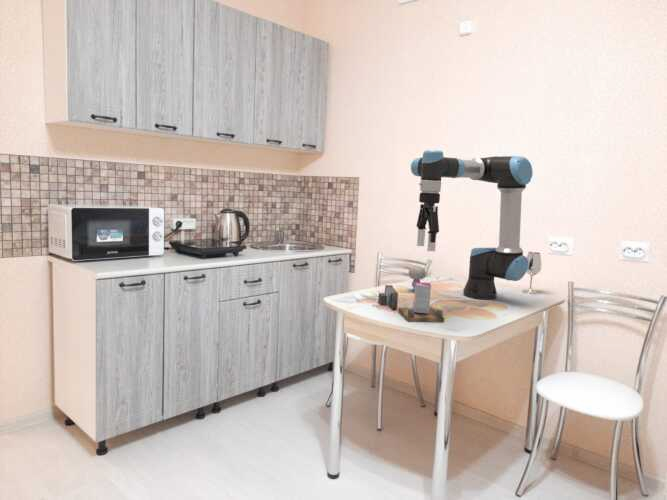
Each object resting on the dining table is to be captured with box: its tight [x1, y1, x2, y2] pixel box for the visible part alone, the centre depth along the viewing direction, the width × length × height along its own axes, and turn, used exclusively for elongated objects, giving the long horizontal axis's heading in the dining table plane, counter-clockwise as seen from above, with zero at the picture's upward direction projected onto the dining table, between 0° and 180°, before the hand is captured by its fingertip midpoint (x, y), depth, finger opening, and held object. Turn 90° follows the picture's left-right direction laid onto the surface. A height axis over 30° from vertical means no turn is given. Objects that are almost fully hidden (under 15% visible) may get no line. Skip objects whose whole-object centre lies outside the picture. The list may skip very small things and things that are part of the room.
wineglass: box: [521, 251, 542, 295], centre depth 251 cm, size 8×8×20 cm
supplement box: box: [412, 281, 432, 315], centre depth 194 cm, size 6×6×12 cm
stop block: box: [377, 292, 388, 306], centre depth 212 cm, size 2×5×4 cm, turn 7°
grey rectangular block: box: [384, 284, 397, 308], centre depth 213 cm, size 14×3×6 cm, turn 3°
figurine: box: [408, 265, 426, 292], centre depth 240 cm, size 8×8×12 cm
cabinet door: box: [390, 291, 445, 323], centre depth 197 cm, size 16×18×7 cm
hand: (425, 248), depth 192 cm, fingers open, 13 cm apart
